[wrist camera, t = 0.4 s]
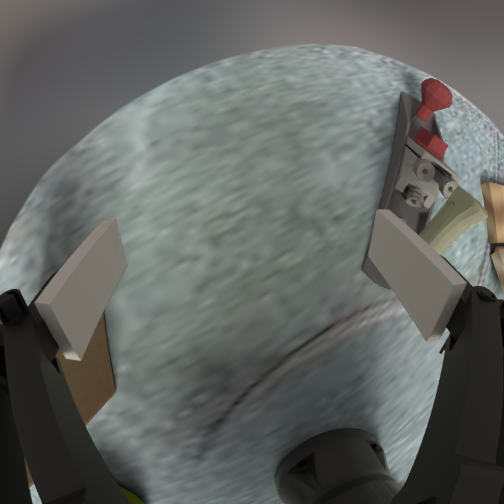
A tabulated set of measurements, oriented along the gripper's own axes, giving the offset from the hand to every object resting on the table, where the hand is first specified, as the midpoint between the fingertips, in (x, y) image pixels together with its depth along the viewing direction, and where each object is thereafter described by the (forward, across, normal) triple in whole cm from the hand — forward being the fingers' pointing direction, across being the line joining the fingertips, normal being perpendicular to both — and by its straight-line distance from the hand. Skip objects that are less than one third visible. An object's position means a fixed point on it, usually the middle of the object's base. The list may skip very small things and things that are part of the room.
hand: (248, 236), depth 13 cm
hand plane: (+20, -22, +2) cm, 30 cm away
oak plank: (+18, -51, +6) cm, 55 cm away
